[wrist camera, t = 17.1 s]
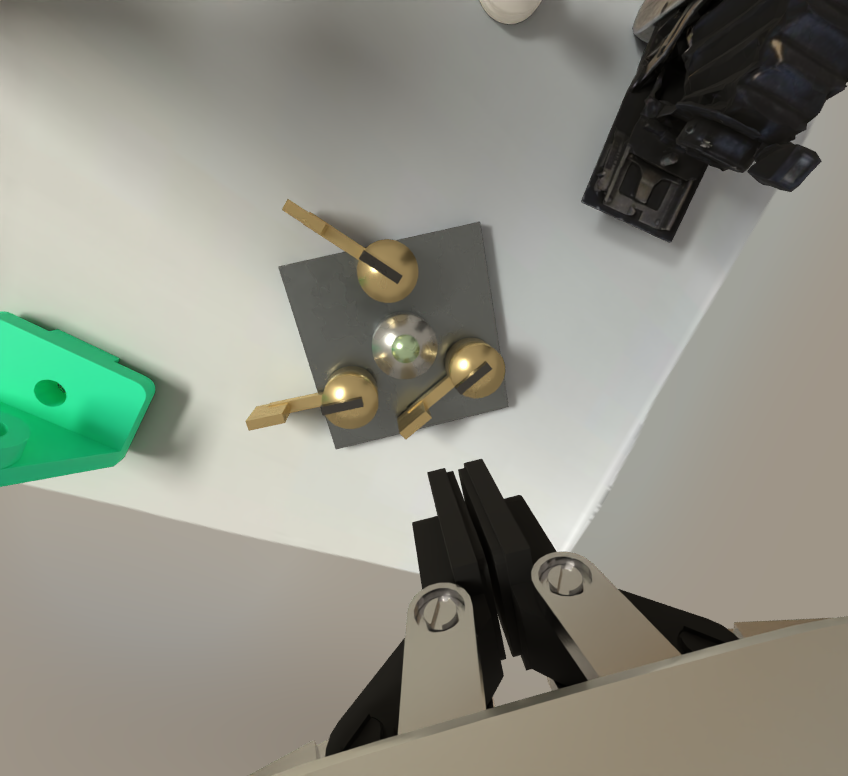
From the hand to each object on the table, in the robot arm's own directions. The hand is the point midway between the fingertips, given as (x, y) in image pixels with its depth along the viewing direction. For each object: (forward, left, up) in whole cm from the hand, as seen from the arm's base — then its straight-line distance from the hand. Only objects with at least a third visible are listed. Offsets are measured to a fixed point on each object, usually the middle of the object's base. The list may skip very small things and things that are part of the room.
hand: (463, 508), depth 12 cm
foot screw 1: (-8, -2, -24) cm, 25 cm away
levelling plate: (0, 0, -25) cm, 25 cm away
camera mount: (-3, -27, -26) cm, 37 cm away
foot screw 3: (+4, +3, -24) cm, 24 cm away
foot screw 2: (+3, -8, -24) cm, 25 cm away
